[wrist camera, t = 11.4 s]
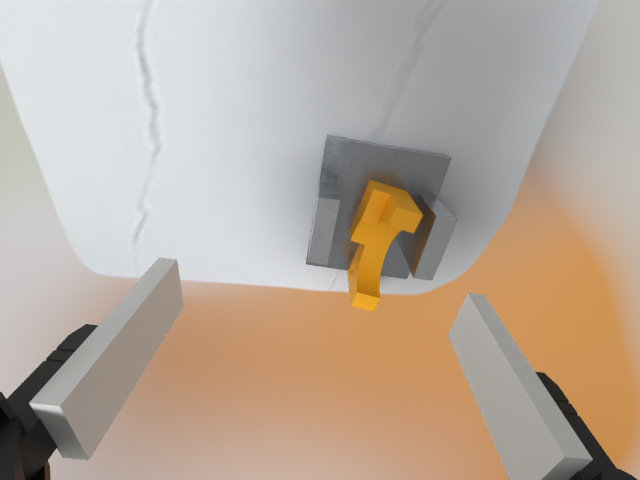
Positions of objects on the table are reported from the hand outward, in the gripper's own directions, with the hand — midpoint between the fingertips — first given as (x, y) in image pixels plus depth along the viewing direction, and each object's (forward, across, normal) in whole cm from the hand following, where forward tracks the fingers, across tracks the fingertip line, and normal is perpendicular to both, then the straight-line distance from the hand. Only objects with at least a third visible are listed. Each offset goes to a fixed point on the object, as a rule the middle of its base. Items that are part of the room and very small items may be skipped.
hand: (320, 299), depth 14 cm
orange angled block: (+21, +6, -7) cm, 23 cm away
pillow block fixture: (+22, +6, -5) cm, 23 cm away
